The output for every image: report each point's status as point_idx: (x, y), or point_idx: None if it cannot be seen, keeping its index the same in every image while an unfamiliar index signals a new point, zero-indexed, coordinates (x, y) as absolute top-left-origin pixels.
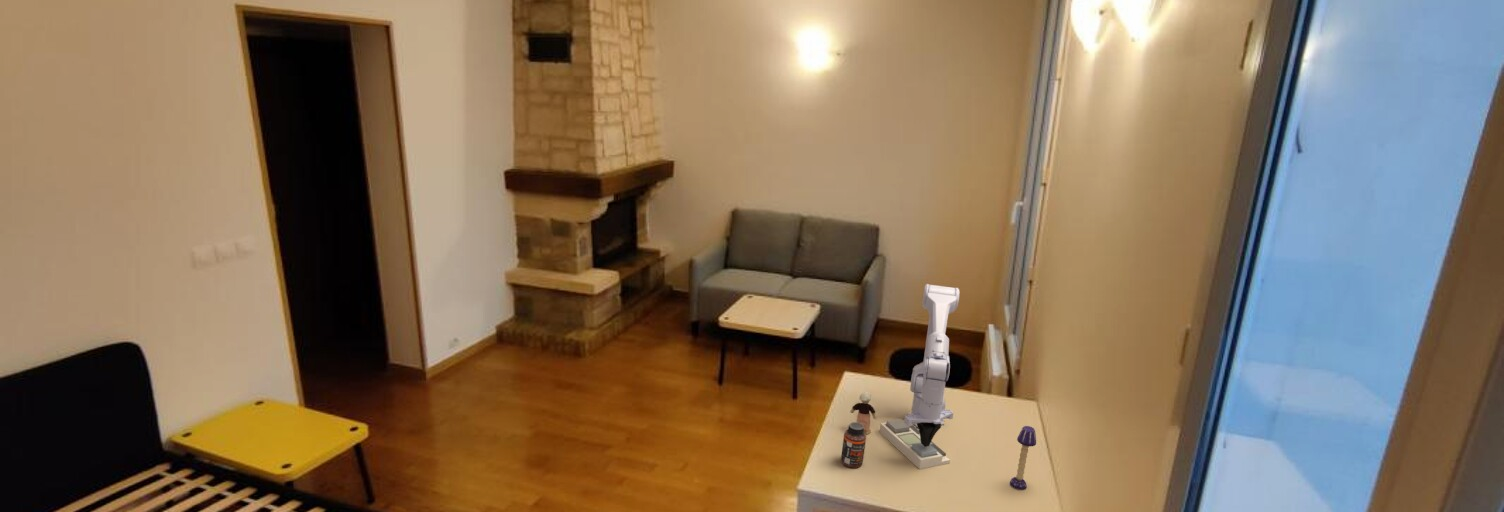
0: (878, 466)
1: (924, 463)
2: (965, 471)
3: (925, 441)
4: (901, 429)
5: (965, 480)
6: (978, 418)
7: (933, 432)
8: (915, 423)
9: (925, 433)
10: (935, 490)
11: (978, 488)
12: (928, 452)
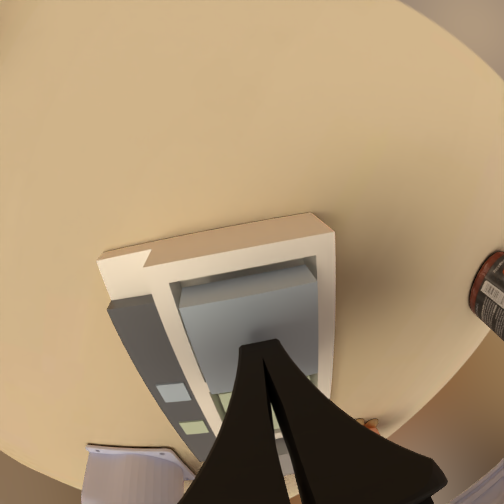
0: (451, 255)
1: (289, 227)
2: (50, 170)
3: (298, 370)
4: (283, 449)
5: (88, 81)
6: (11, 428)
7: (258, 459)
8: (482, 478)
9: (367, 431)
10: (318, 18)
11: (68, 22)
12: (260, 290)
